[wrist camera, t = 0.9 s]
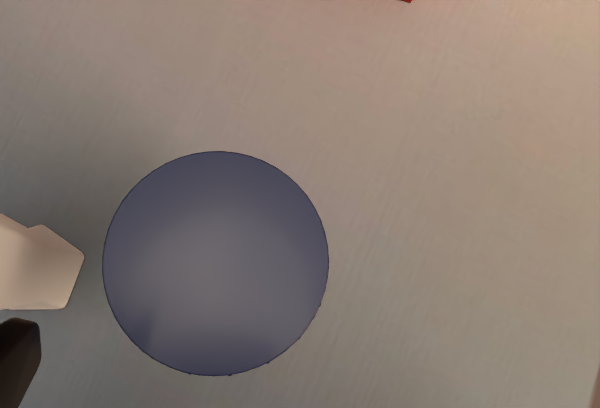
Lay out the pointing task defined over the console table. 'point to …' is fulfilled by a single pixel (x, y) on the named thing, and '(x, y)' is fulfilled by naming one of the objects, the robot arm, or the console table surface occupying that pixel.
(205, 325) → the jar lid
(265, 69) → the console table surface
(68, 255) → the white pentagonal vase
